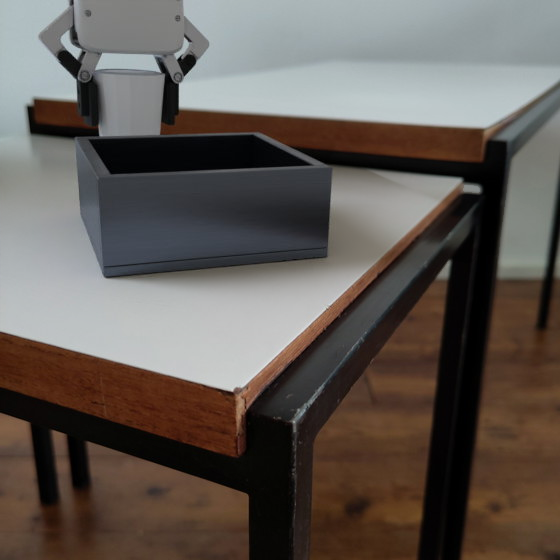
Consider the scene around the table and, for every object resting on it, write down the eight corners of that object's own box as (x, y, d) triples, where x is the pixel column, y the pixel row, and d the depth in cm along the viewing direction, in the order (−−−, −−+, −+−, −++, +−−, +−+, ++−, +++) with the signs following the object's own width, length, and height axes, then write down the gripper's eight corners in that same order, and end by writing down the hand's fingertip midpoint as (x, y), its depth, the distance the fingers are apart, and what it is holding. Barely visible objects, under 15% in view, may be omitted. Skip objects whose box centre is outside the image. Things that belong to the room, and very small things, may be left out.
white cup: (110, 137, 72) (108, 67, 70) (174, 142, 71) (174, 71, 69) (82, 147, 66) (79, 70, 64) (152, 153, 65) (151, 75, 63)
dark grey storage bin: (80, 214, 51) (74, 136, 49) (258, 203, 55) (259, 132, 53) (103, 277, 39) (97, 178, 37) (327, 257, 43) (333, 167, 41)
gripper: (201, -66, 69) (198, 117, 75) (15, -88, 61) (30, 119, 67) (232, -73, 63) (226, 128, 69) (30, -97, 55) (44, 131, 61)
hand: (129, 122), depth 68 cm, fingers closed on white cup, 6 cm apart
